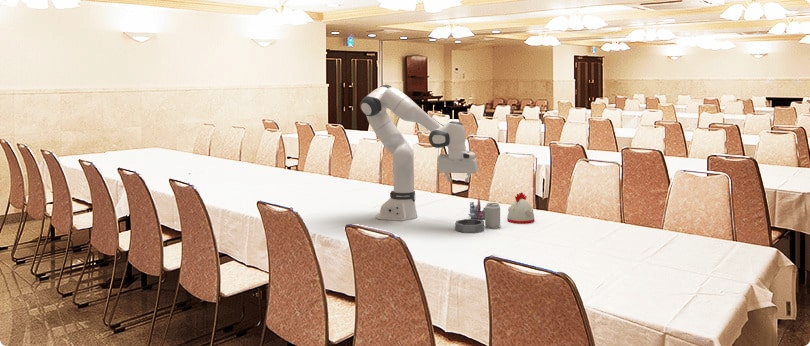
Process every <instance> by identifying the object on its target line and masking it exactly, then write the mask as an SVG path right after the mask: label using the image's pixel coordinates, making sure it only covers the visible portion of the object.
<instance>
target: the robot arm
mask: <svg viewBox="0 0 810 346" xmlns="http://www.w3.org/2000/svg"><path fill="white" fill-rule="evenodd" d="M359 107H360V108H359V109H360V110H361V112H362V113H363V114H364V115H365V116H366V119H367V121H368V124H369V125H370V127H371V129H372V130H373V132H374V133H375V135H376V136H377V137H378V139H379V140H380V142H381V144H382V145H383V146H384V147H385V149H387V151H388V152H389V153H390V155H391V157H392V173H393V174H392V175H393V176H392V177H393V190H391V191H390V193H389V196H390V197H389V199H387V200H386V201H385V202H383V203H382V205H381V206H380V210H379V213H377V214H376V215H375V219H377V220H386V221H388V220H389V221H407V220H413V219H416V218H418V217H419V216H418V212H417V208H416V203H415V202H416V191H415V169H414V165H415V164H414V160H415V158H414V150H413V147H412V146H410V144H409V142H408V141H407V140H406V139H405V137H404V136H403V134H402V133H401V132H400V130H399V129H398V127H397V126H396V125H395V123H394V122H393V120H392V119H391V117H390V116H389V114H388V113H387V109H388V110H390V112H392V113H393V114H394V115H395V116H396V117H398V118H399V119H400V120H403V121H404V122H411V123H416V124H419V125H421V126H422V127H423V128H425V129H427V130H428V131H429V132H430V133H429V135H428V142H429V144H430V145H431V147H433V148H435V149H442V148H445V147H447V154H446V153H441V154H439V155H438V156H437V164H438V165H437V171H438V173H441V174H444V176H445V178H446V179H447V180H446V181H447V182H448V183H449V182H451V183H452V177H450V176H449V174H466V176H467V177H466V178H465V180H464V182H465V183H469V182H470V177H471V176H472V174H476V173H478V171H479V166H478V165H479V164H478V160H477V158H476V153H475V152H473V151H470V150H467V147H466V139H467V138H466V128H465V125H464V124H463V123H462V122H459V121H453V120H452V121H449V122H448V123H446V124H444V125H443V124H442V123H440V122H439V121H438V120H436V119H435V118H434V117H433V116H431V115H429V114H428V113H427V112H426V111H424V109H422V108H421V107H420V106H419V105H418V104H417V103H416V102H415V101H413V100H412V98H410V97H409V96H408V95H407V94H405V93H404V92H403V91H401V90H399V89H398V88H397V87H393V86H391V85H389V84H383V85H381V86H379V87H378V88H376V89H374V90H372V91H371V92H370V93H369V94H367V95H366V96H364V98H362V100H361V101H360V103H359Z"/></svg>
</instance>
